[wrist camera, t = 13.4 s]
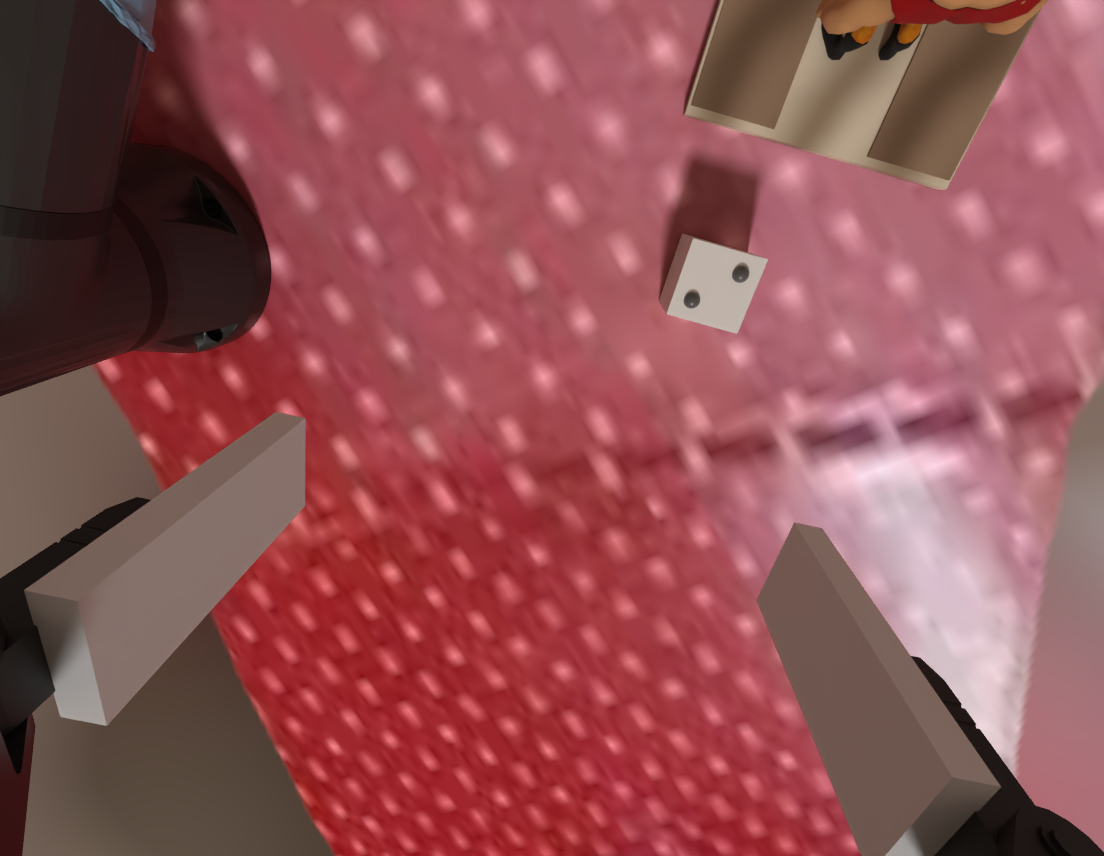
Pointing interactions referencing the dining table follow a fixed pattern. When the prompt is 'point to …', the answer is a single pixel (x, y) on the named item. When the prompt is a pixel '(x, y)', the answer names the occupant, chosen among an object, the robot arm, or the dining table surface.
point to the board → (851, 88)
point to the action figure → (913, 20)
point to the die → (711, 283)
